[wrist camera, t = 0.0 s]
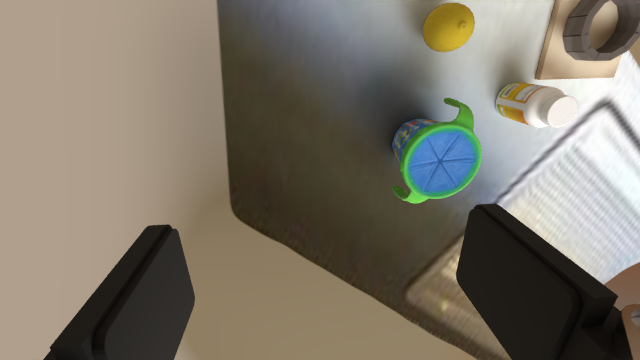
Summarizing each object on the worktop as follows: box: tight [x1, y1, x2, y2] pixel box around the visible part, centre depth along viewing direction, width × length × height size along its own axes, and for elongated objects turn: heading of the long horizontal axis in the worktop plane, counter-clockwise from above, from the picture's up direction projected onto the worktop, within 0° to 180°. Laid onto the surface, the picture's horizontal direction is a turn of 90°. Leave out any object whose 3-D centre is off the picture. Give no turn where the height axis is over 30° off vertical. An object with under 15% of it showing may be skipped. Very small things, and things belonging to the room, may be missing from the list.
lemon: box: [423, 3, 475, 52], centre depth 37 cm, size 6×6×8 cm
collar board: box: [535, 0, 640, 80], centre depth 41 cm, size 14×12×4 cm
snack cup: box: [392, 98, 482, 203], centre depth 43 cm, size 16×10×10 cm
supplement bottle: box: [496, 82, 578, 127], centre depth 42 cm, size 5×5×10 cm
